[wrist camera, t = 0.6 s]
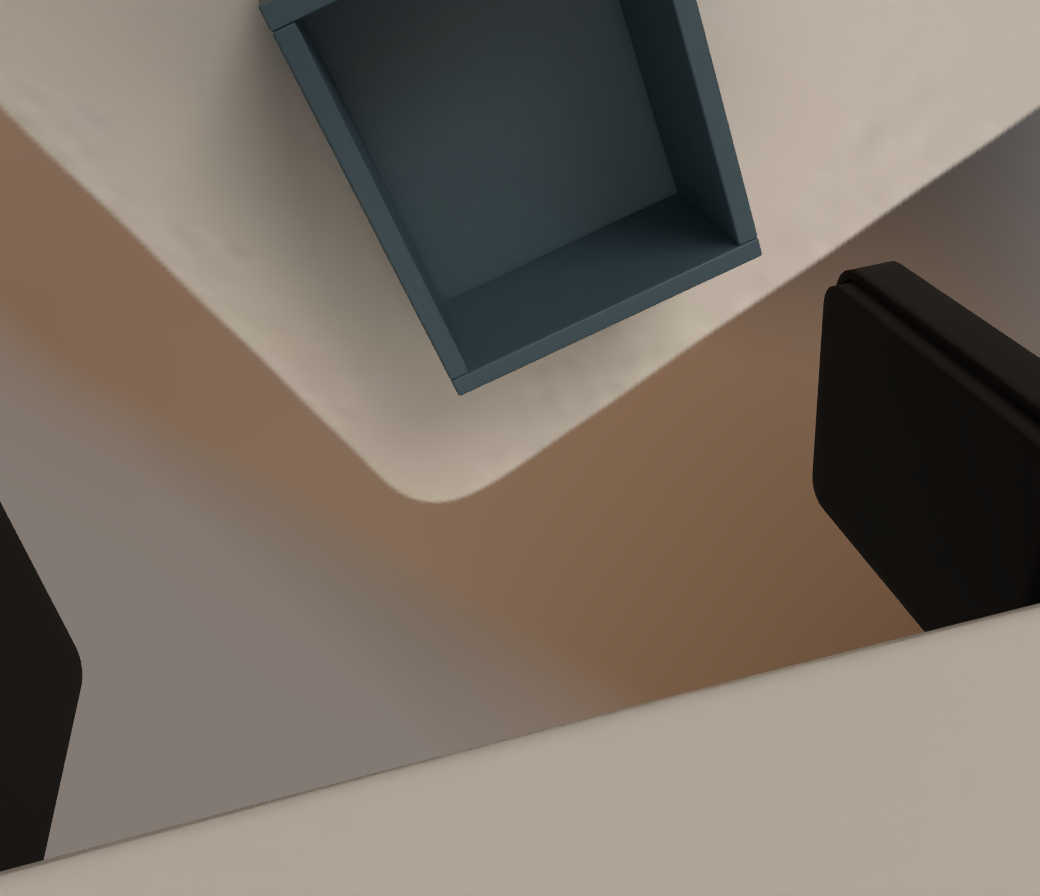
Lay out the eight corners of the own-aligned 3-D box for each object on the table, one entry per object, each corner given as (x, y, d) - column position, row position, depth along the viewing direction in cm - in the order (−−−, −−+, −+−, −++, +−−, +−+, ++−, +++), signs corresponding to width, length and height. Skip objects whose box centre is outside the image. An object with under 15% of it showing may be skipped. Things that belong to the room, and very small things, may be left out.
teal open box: (259, -24, 31) (257, 7, 26) (581, -179, 31) (650, -183, 25) (432, 317, 39) (459, 397, 33) (691, 195, 38) (763, 255, 33)
